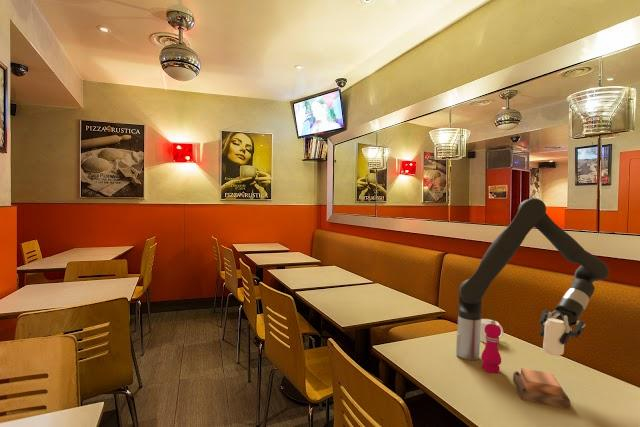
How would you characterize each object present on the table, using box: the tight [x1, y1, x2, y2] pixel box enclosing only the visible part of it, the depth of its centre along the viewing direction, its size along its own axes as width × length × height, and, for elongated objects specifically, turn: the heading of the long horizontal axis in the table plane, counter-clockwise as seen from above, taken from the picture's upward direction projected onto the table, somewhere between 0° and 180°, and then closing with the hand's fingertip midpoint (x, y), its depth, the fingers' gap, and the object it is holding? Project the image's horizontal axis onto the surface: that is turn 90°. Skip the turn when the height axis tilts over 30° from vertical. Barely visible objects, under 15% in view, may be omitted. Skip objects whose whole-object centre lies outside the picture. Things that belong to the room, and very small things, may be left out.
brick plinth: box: [512, 367, 571, 410], centre depth 121 cm, size 14×14×6 cm
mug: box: [480, 318, 504, 344], centre depth 169 cm, size 12×9×9 cm
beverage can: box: [542, 317, 566, 357], centre depth 124 cm, size 6×6×12 cm
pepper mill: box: [480, 319, 502, 374], centre depth 138 cm, size 7×7×20 cm
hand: (551, 339), depth 123 cm, fingers closed on beverage can, 6 cm apart
